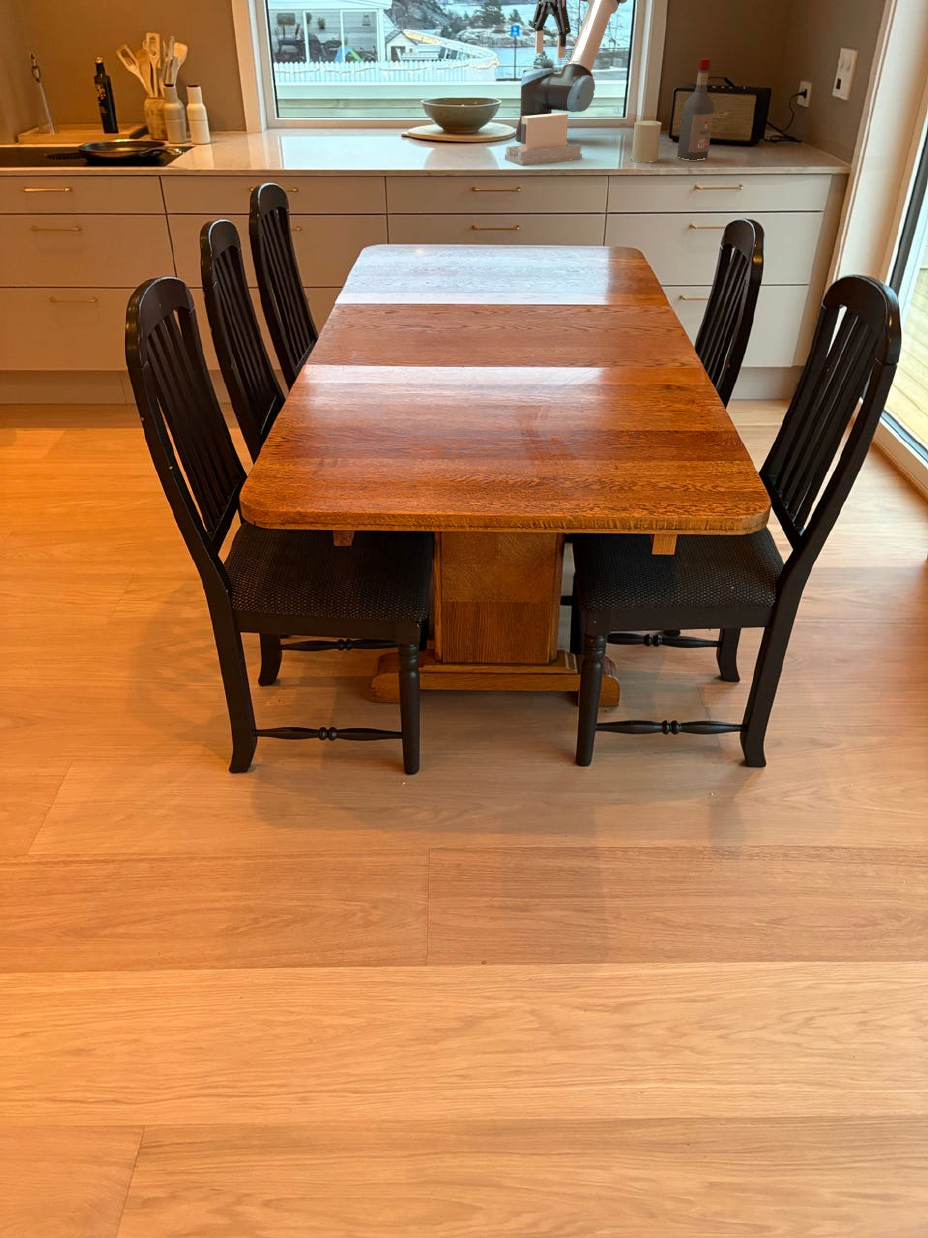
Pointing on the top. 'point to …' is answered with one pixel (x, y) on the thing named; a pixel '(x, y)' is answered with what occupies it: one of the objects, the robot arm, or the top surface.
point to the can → (646, 141)
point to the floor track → (542, 154)
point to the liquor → (697, 118)
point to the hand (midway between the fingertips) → (549, 55)
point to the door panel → (544, 131)
